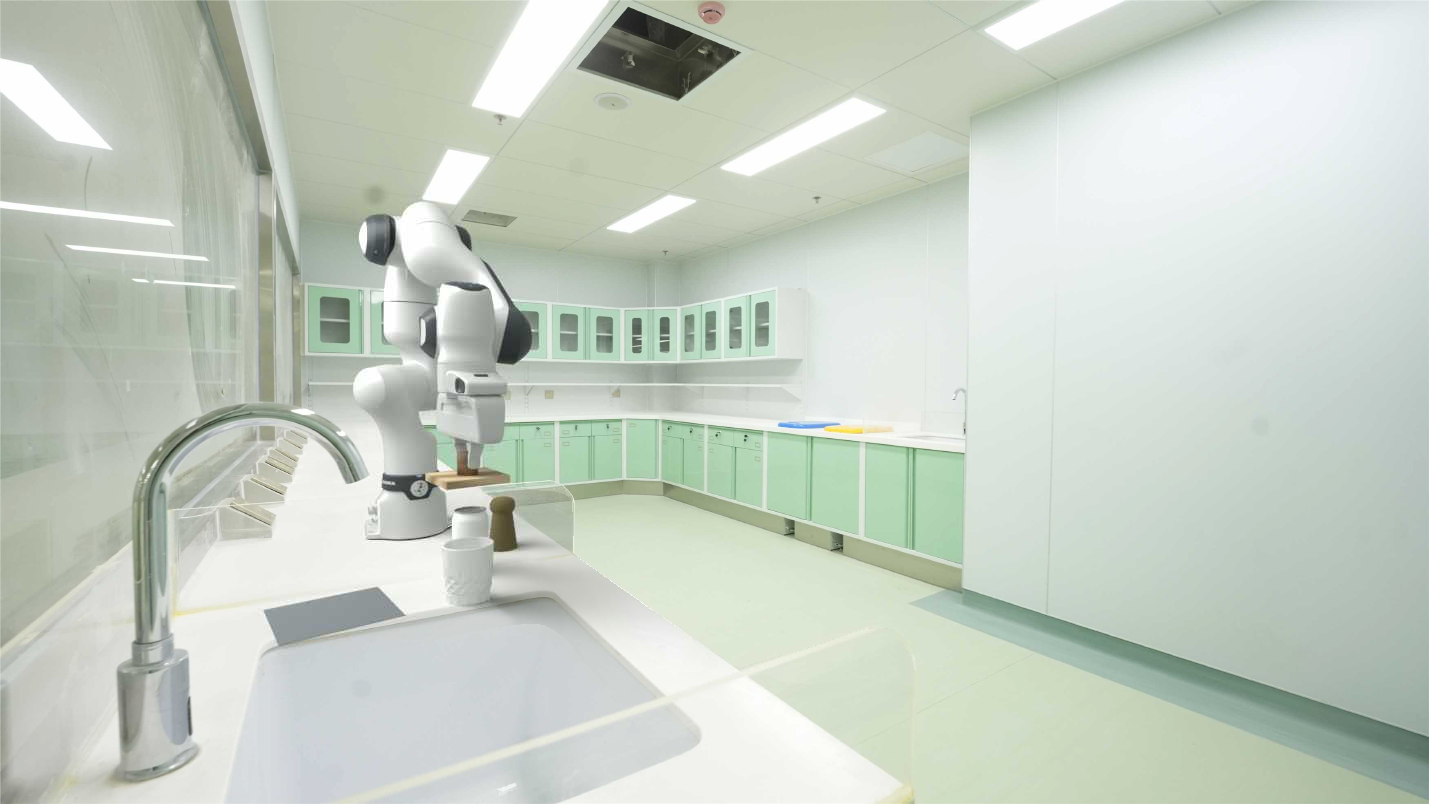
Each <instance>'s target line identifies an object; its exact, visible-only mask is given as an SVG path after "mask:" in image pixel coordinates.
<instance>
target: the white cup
mask: <svg viewBox="0 0 1429 804" xmlns="http://www.w3.org/2000/svg"><path fill="white" fill-rule="evenodd" d="M493 550H494V541H493V540H492V539H490V538H486V537H464V538H458V539H453V540H452V539H451V540H448V541H445V542H444V543H443V544H442V560H443V561H442V564H443V578H444V588H445V596H446V597H445V598H446V603H448V604H449V605H452V606H456V607H457V606H458V607H462V606H463V607H466V606H467V607H468V606H472V605H478V604H482V603H484V602H486V601H488V602H491V590H492V584H493V571H494V569H493V568H494V567H493V566H494V552H493Z"/></svg>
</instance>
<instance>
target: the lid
mask: <svg viewBox="0 0 1429 804" xmlns="http://www.w3.org/2000/svg"><path fill="white" fill-rule="evenodd" d="M468 451H469V450H467V451H462V452H457V464H456V469H454V470H446V471H445V470H444V471H439V472H432V473H425V477H426V481H428V482H430V483H432V484H435V485H437V486H439V488H440V489H444V490H446V491H448V490H449V491H451V490H459V489H468V488H475V487H485V486H492V485H502V484H510V483H511V475H510V474H508V473H505V472H501V471H498V470H496V469H493V468H490V467H486V466H485V467H479V468H478V469H470V468H467V467H466V457H468Z"/></svg>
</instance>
